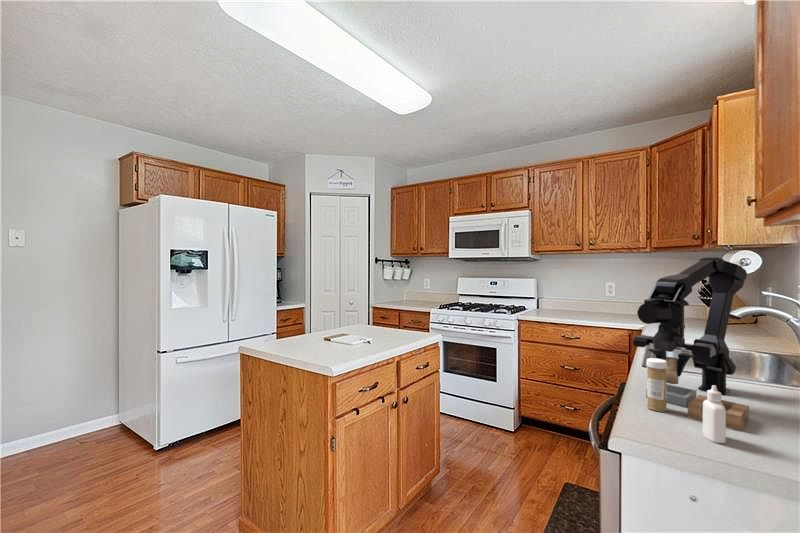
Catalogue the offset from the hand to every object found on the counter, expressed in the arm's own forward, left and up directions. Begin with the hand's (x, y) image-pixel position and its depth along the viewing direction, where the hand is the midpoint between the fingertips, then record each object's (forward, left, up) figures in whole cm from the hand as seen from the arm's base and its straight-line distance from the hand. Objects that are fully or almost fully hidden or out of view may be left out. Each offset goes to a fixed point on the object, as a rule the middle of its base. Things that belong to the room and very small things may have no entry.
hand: (671, 374), depth 109 cm
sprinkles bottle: (+12, 0, -7) cm, 14 cm away
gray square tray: (0, 0, -7) cm, 7 cm away
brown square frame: (+7, +12, -7) cm, 16 cm away
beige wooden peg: (0, 0, -2) cm, 2 cm away
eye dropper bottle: (+21, +14, -7) cm, 26 cm away
